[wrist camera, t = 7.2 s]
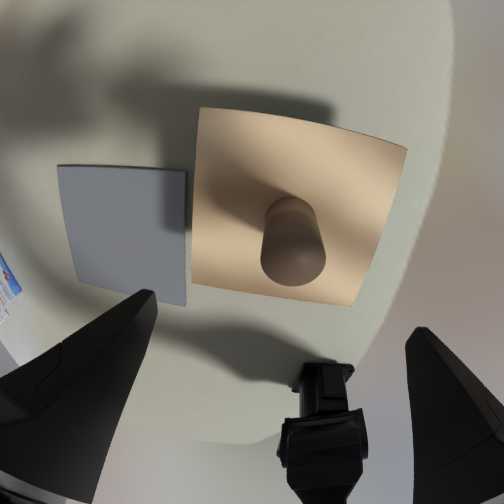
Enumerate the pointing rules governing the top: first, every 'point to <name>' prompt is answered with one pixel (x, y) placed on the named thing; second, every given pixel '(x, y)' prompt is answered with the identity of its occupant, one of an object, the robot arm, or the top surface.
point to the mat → (127, 228)
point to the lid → (288, 205)
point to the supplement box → (3, 316)
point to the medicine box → (7, 286)
